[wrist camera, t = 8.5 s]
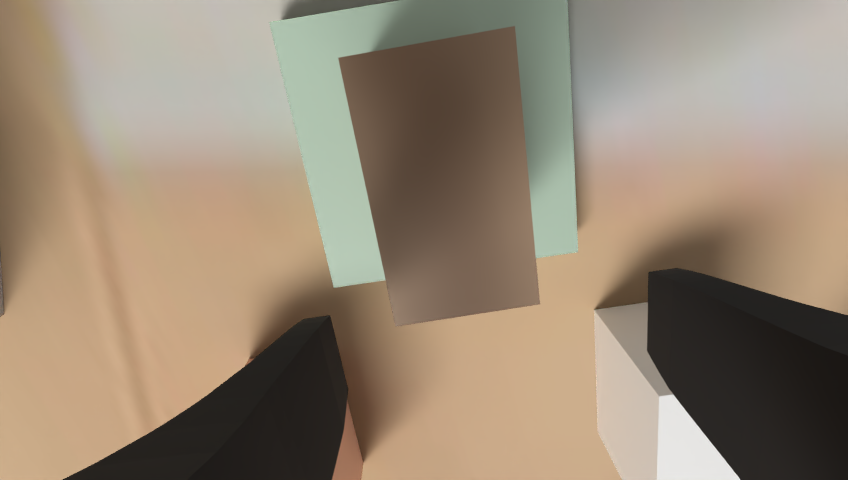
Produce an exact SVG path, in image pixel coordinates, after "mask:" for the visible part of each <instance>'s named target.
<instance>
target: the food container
mask: <svg viewBox="0 0 848 480" xmlns="http://www.w3.org/2000/svg"><path fill="white" fill-rule="evenodd" d="M3 314H4V306H3V289H2V271H1V254H0V317H1V316H2V315H3Z"/></svg>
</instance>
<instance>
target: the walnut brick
mask: <svg viewBox="0 0 848 480" xmlns="http://www.w3.org/2000/svg"><path fill="white" fill-rule="evenodd" d="M338 60H339V65H340V69H341V74H342V79H343V83H344V88H345V93H346V97H347V102H348V107H349V111H350V116H351V121H352V125H353V130H354V135H355V139H356V144H357V149H358V153H359V158H360V163H361V167H362V172H363V177H364V181H365V186H366V191H367V195H368V200H369V205H370V209H371V214H372V219H373V224H374V228H375V233H376V238H377V242H378V247H379V252H380V256H381V261H382V266H383V270H384V275H385V280H386V284H387V289H388V294H389V298H390V303H391V308H392V312H393V317H394V322H395V326H402V325H408V324H415V323H421V322H428V321H434V320H441V319H447V318H454V317H460V316H467V315H473V314H480V313H486V312H493V311H499V310H506V309H512V308H519V307H525V306H532V305H538V304H540V299H539V288H538V277H537V266H536V255H535V244H534V233H533V221H532V210H531V199H530V188H529V177H528V166H527V155H526V143H525V132H524V121H523V110H522V99H521V88H520V77H519V66H518V54H517V43H516V32H515V26H512V27H506V28H501V29H495V30H490V31H484V32H478V33H473V34H467V35H462V36H456V37H451V38H445V39H439V40H434V41H428V42H423V43H417V44H412V45H406V46H401V47H395V48H389V49H384V50H378V51H373V52H367V53H362V54H356V55H350V56H345V57H339V58H338Z"/></svg>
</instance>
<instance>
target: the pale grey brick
mask: <svg viewBox="0 0 848 480" xmlns="http://www.w3.org/2000/svg"><path fill="white" fill-rule="evenodd" d="M647 323H648V302H645V303H638V304H631V305H624V306H617V307H610V308H603V309H596V310H594V326H595V359H596V392H597V425H598V433H599V435H600V437H601V439H602V441H603V443H604V445H605V447H606V449H607V451H608V453H609V455H610V457H611V459H612V461H613V463H614V465H615V467H616V469H617V471H618V473H619V475H620V477H621V479H622V480H740V478H739V477H738V476H737V475H736V473H735V472H734V471H733V470H732V468H731V467H730V466H729V464H728V463H727V462H726V461H725V459H724V458H723V457H722V456H721V454H720V453H719V452H718V451H717V449H716V448H715V447H714V446H713V444H712V443H711V442H710V441H709V439H708V438H707V437H706V436H705V434H704V433H703V432H702V431H701V429H700V428H699V427H698V426H697V424H696V423H695V422H694V420H693V419H692V418H691V417H690V415H689V414H688V413H687V412H686V410H685V409H684V408H683V406H682V405H681V404H680V403H679V401H678V400H677V399H676V397H675V396H674V395H673V393H672V392H671V391H670V389H669V388H668V386H667V385H666V383H665V381H664V380H663V378H662V377H661V375H660V373H659V372H658V370H657V368H656V366H655V364H654V363H653V361H652V359H651V357H650V355H649V354H648V352H647Z"/></svg>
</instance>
